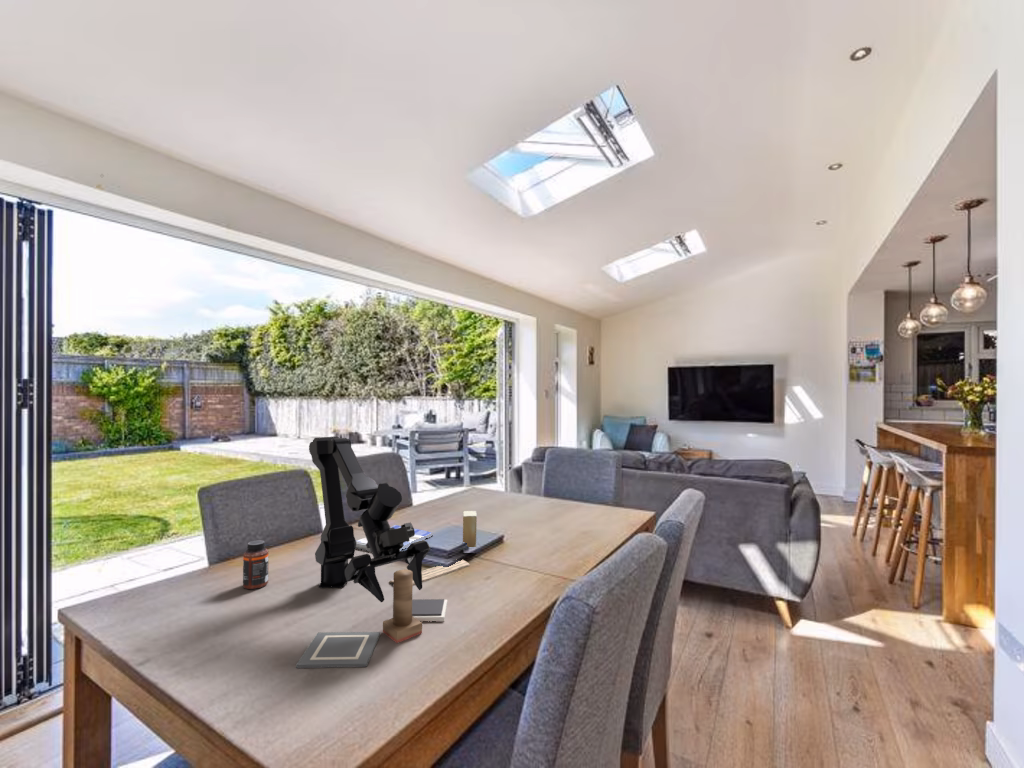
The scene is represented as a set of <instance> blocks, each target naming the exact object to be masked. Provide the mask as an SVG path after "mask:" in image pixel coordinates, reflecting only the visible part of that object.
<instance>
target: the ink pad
mask: <svg viewBox="0 0 1024 768" xmlns="http://www.w3.org/2000/svg"><path fill="white" fill-rule="evenodd" d="M447 607H448V599H444V598H441V599H440V598H439V599H436V598H431V599H429V598H428V599H427V598H426V599H425V598H423V599H413V598H412V616H413V617H414V618H416V619H417V620H419V621H421V622H422V623H424V622H423V621H428V622H429V621H430V622H432V621H436V622H445V618H446V613H447Z"/></svg>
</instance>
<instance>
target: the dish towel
mask: <svg viewBox="0 0 1024 768" xmlns="http://www.w3.org/2000/svg"><path fill="white" fill-rule="evenodd" d="M392 527H394V528H395V529H397V528H401V525H397V524H394V525H392V526H390V528H392ZM414 531H415V535H414V536H413V537H410V538H409V540H410V541H408V542H407V541H406V542H404V543H403V544H404V546H405V545H407V544H409V543H411V542H412V541H414V540H416V539H419V538H421V537H424V536H427V535H429V534H431V533H432V532H431V531H428V530H424V529H419V528H414ZM355 540H356V539H355ZM367 542H368V541H367V538H366V536H365V537H363V538H360V539H357V540H356V547H355V549H356V548H358V550H361V549H362V550H361V551H366V550H367V552H371V549H370V548H368V549H367V547H366V544H367Z"/></svg>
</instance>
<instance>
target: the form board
mask: <svg viewBox="0 0 1024 768" xmlns="http://www.w3.org/2000/svg"><path fill="white" fill-rule="evenodd" d="M380 636H381V631H337V632H336V631H335V632H333V631H331V632H328V631H327V632H325V631H323V632H317V633H316V635H315V636H314V638H313V639H312V641H311V642H310V644H309V645H308V647H307V648H306V649H305V650H304V653H303V654H302V655H301V657H300V658H299V660H298V661H297V663H296V664H295V668H296V669H300V668H301V669H308V668H309V669H310V668H313V669H317V668H361V667H362V668H364V667H365V668H367V666H368V664H369V662H370V660H371V658H372V656H373V653H374V650H375V648H376V646H377V643H378V641H379V639H380Z"/></svg>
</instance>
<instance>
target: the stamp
mask: <svg viewBox="0 0 1024 768" xmlns="http://www.w3.org/2000/svg"><path fill="white" fill-rule="evenodd" d="M393 580H394V582H393V583H392V584H393V585H392V587H393V589H392V590H393V593H392V595H393V596H392V597H393V598H392V618H388V619H386V620H383V621H382V633H383V634H385V635H386V636H387V637H388V638H390V639H391V640H392V641H394V643H396V644H398V642H399V643H401V642H404V641H406V640H409V639H411V637H412V638H414V637H416V635H417V636H419V635H421V633H422V634H423V622H420V621H419V620H417V619H416V618H414V617H413V616H412V600H413V587H414V585H413V572H412V571H411V570H408V569H399V570H396V571H394V572H393ZM418 634H419V635H418ZM413 636H414V637H413Z"/></svg>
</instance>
